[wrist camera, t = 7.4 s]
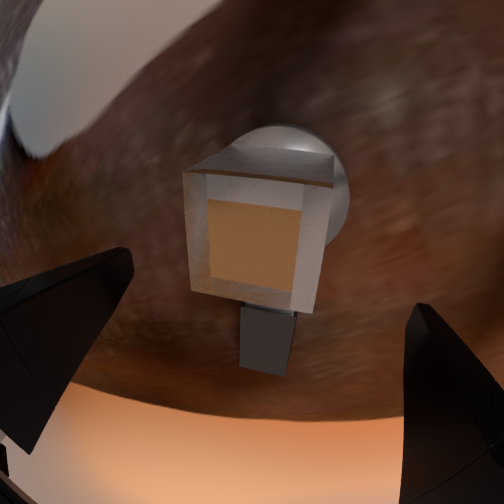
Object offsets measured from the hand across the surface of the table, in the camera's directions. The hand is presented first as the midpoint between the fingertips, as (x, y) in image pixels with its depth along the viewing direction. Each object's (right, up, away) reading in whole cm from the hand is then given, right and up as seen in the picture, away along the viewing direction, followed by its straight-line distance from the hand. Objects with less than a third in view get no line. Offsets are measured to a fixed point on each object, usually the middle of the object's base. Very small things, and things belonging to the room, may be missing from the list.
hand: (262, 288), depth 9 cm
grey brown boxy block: (+1, +4, +8) cm, 9 cm away
